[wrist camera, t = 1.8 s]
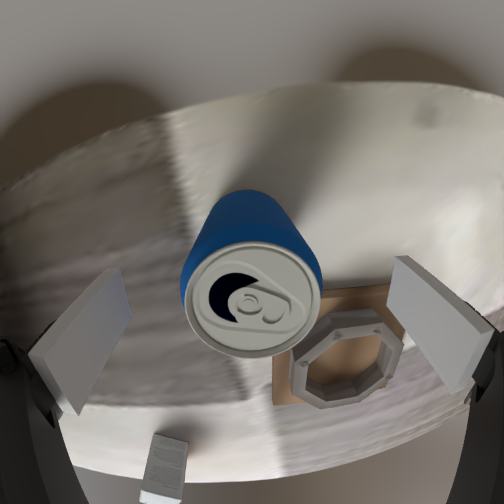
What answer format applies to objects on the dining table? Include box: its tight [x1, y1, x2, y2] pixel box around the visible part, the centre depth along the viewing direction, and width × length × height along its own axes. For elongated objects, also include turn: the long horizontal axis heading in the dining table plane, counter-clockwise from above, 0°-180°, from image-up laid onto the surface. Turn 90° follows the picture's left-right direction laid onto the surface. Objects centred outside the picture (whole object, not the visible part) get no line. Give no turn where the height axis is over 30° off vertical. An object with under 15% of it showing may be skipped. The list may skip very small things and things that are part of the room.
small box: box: [139, 434, 189, 504], centre depth 29 cm, size 8×6×10 cm
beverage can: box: [180, 190, 323, 359], centre depth 17 cm, size 6×6×12 cm
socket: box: [272, 284, 405, 409], centre depth 25 cm, size 14×14×4 cm
